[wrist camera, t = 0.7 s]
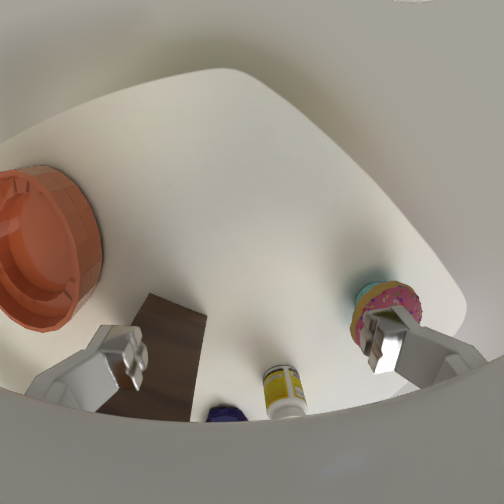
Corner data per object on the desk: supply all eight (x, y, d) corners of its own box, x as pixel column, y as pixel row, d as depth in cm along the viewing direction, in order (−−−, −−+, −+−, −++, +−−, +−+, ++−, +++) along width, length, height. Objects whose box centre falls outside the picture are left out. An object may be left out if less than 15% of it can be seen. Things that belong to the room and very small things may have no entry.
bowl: (-13, 198, 25) (-42, 208, 20) (76, 139, 24) (44, 138, 19) (32, 316, 31) (10, 338, 25) (128, 292, 30) (109, 320, 25)
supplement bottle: (259, 387, 35) (263, 436, 28) (267, 362, 34) (274, 412, 26) (293, 390, 36) (303, 437, 28) (303, 366, 35) (317, 414, 27)
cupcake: (412, 279, 31) (470, 330, 20) (380, 336, 34) (421, 397, 22) (359, 257, 30) (415, 311, 19) (326, 321, 32) (360, 393, 21)
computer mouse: (203, 452, 41) (202, 470, 37) (187, 402, 36) (184, 423, 32) (256, 451, 41) (257, 469, 37) (252, 402, 36) (253, 423, 33)
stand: (149, 292, 30) (42, 513, 6) (207, 315, 31) (173, 560, 7) (135, 343, 33) (60, 531, 8) (186, 363, 34) (152, 563, 9)
